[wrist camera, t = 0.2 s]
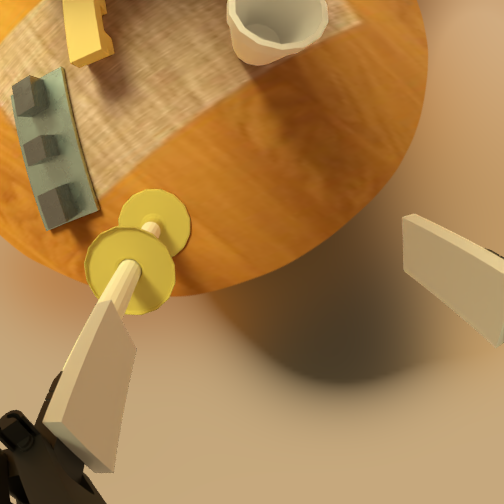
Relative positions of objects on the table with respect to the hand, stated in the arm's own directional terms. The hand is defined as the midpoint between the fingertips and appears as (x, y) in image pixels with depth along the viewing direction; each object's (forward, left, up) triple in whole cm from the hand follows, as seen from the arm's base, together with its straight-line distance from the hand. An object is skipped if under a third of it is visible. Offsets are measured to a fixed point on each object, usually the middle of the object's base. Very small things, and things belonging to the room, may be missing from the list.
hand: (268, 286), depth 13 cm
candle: (+2, -10, -29) cm, 31 cm away
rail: (-13, -21, -29) cm, 38 cm away
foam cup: (-18, +9, -29) cm, 35 cm away
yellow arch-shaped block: (-27, -11, -29) cm, 41 cm away
